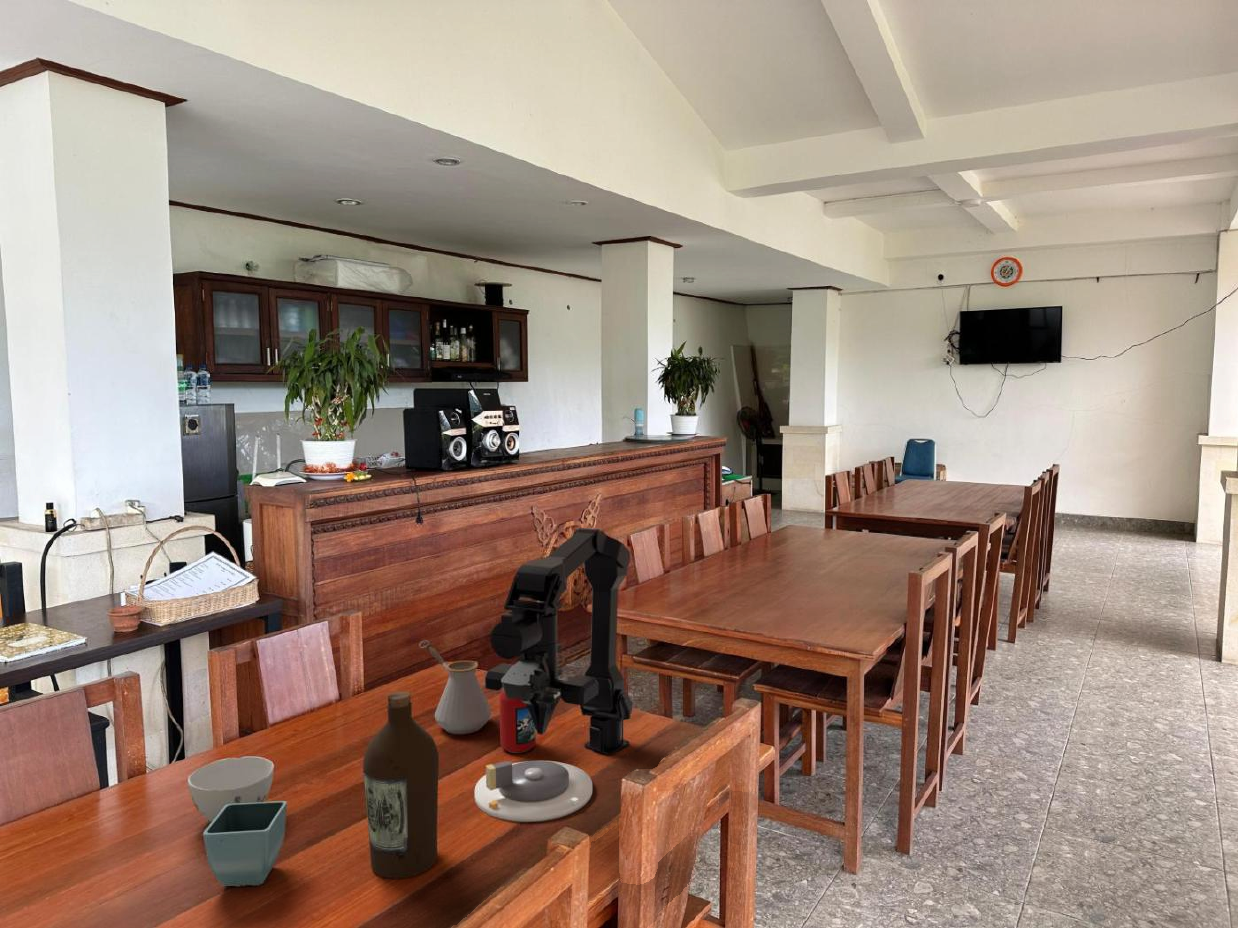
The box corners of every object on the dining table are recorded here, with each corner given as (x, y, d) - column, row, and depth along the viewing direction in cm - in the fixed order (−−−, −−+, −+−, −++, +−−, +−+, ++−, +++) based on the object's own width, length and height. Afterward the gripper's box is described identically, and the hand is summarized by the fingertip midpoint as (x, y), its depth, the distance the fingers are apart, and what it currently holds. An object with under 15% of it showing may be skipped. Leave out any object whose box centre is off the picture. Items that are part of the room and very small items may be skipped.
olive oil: (396, 836, 130) (391, 678, 128) (455, 849, 127) (451, 687, 124) (350, 873, 121) (344, 703, 118) (413, 888, 117) (408, 713, 115)
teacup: (286, 821, 135) (284, 773, 135) (201, 848, 127) (198, 797, 127) (258, 787, 147) (255, 742, 146) (178, 810, 139) (176, 763, 138)
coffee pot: (503, 727, 172) (501, 655, 171) (454, 743, 165) (452, 668, 163) (447, 699, 188) (445, 633, 187) (400, 713, 180) (398, 644, 179)
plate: (533, 756, 159) (533, 746, 158) (616, 786, 146) (616, 776, 146) (449, 796, 143) (449, 786, 143) (534, 834, 131) (534, 823, 130)
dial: (549, 762, 153) (548, 735, 152) (581, 789, 142) (581, 760, 142) (474, 782, 145) (474, 754, 145) (503, 812, 135) (502, 781, 135)
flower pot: (228, 861, 124) (225, 802, 123) (290, 858, 125) (288, 799, 124) (204, 897, 115) (201, 834, 114) (271, 893, 116) (268, 830, 115)
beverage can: (529, 756, 158) (528, 694, 157) (495, 753, 160) (494, 691, 159) (540, 741, 165) (539, 681, 164) (507, 739, 166) (506, 679, 165)
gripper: (463, 647, 135) (465, 742, 136) (565, 663, 127) (567, 763, 128) (502, 629, 145) (504, 717, 146) (599, 642, 137) (600, 736, 138)
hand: (541, 733), depth 139 cm, fingers closed
